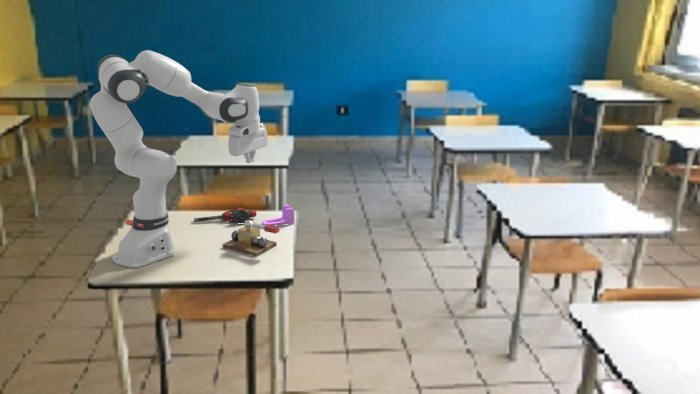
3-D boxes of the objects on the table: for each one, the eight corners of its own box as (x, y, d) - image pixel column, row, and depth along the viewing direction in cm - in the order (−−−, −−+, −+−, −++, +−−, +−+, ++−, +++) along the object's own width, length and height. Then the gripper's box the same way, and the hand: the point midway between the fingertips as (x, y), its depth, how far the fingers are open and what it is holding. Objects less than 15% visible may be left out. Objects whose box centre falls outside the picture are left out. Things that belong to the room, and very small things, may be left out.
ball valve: (260, 250, 223) (260, 233, 221) (229, 242, 230) (228, 225, 228) (270, 245, 227) (269, 228, 225) (239, 237, 234) (238, 221, 232)
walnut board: (256, 257, 220) (256, 253, 220) (222, 247, 228) (222, 244, 227) (276, 245, 230) (276, 242, 230) (243, 237, 238) (243, 233, 237)
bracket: (291, 219, 257) (290, 204, 255) (294, 224, 252) (294, 208, 250) (260, 223, 253) (260, 207, 250) (263, 227, 248) (263, 211, 246)
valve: (256, 216, 266) (257, 223, 252) (196, 222, 262) (193, 230, 248) (255, 201, 265) (256, 208, 251) (194, 207, 261) (192, 214, 246)
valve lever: (243, 226, 226) (243, 221, 225) (248, 224, 228) (247, 219, 227) (275, 234, 219) (275, 228, 219) (279, 231, 222) (279, 226, 221)
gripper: (258, 121, 239) (259, 155, 243) (224, 131, 222) (226, 167, 226) (271, 122, 236) (272, 157, 240) (238, 132, 219) (240, 169, 223)
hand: (250, 162), depth 233 cm, fingers closed
